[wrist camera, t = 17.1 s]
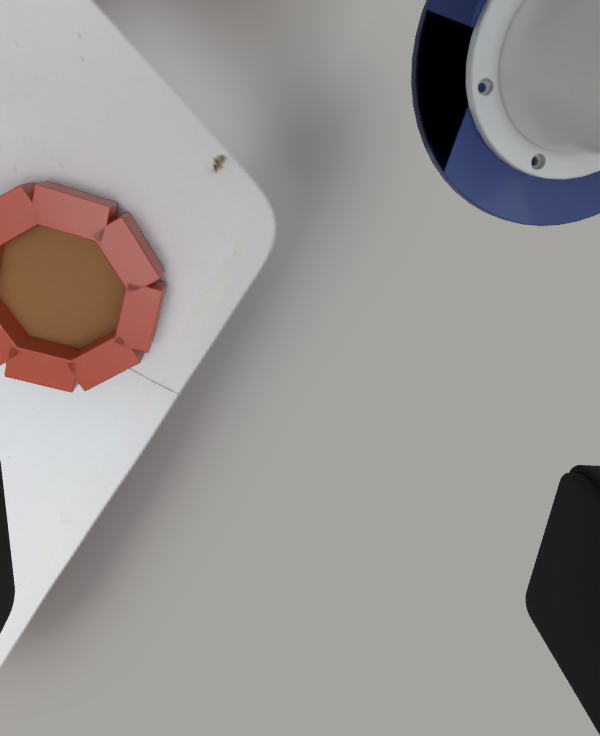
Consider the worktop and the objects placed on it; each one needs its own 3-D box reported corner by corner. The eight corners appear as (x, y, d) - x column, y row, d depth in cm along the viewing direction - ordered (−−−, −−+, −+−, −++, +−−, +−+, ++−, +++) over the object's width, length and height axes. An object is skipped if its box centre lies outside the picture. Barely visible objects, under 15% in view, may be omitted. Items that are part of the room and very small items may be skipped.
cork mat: (9, 209, 32) (7, 210, 31) (138, 244, 33) (136, 245, 33) (-5, 327, 34) (-7, 328, 34) (115, 355, 35) (114, 357, 35)
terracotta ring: (-24, 158, 30) (-42, 160, 28) (182, 222, 32) (179, 227, 31) (-48, 348, 34) (-64, 360, 32) (140, 394, 36) (134, 408, 34)
